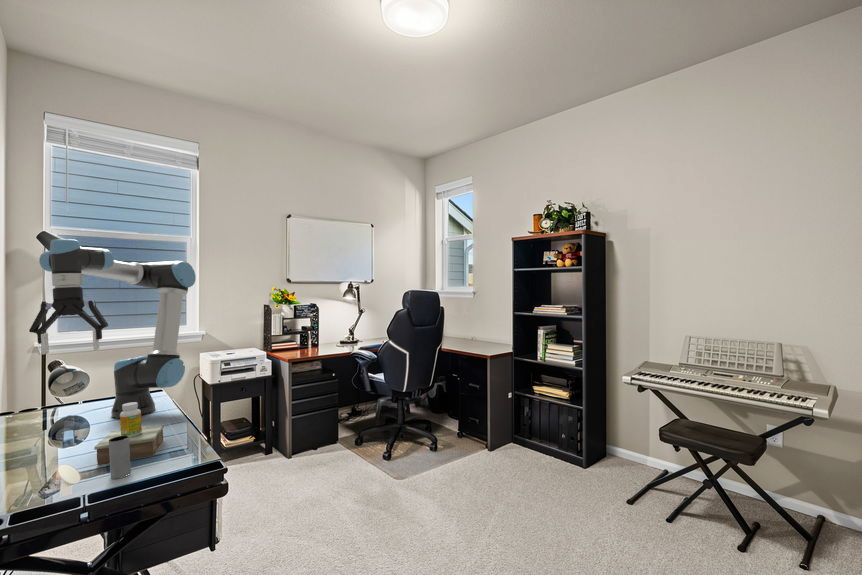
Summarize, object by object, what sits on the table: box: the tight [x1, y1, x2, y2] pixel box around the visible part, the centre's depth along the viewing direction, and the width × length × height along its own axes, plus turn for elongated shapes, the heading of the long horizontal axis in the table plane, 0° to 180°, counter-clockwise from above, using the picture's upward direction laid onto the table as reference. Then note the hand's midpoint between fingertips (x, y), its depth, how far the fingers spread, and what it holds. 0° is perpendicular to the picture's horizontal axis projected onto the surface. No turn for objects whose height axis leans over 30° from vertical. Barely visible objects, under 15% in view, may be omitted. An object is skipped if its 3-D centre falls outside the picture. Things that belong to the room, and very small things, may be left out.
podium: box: [93, 423, 165, 466], centre depth 136 cm, size 15×15×6 cm
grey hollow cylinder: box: [109, 435, 132, 480], centre depth 119 cm, size 4×4×10 cm
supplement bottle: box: [119, 402, 143, 437], centre depth 136 cm, size 5×5×10 cm
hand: (71, 351), depth 142 cm, fingers open, 13 cm apart
